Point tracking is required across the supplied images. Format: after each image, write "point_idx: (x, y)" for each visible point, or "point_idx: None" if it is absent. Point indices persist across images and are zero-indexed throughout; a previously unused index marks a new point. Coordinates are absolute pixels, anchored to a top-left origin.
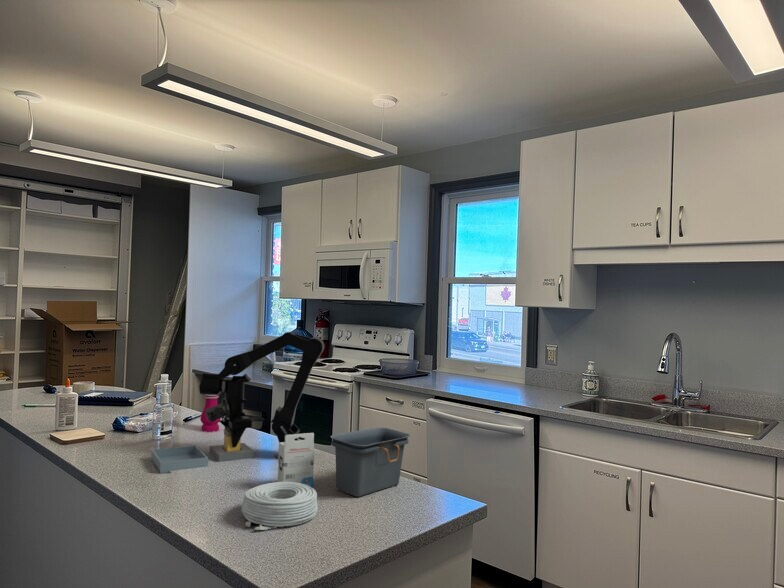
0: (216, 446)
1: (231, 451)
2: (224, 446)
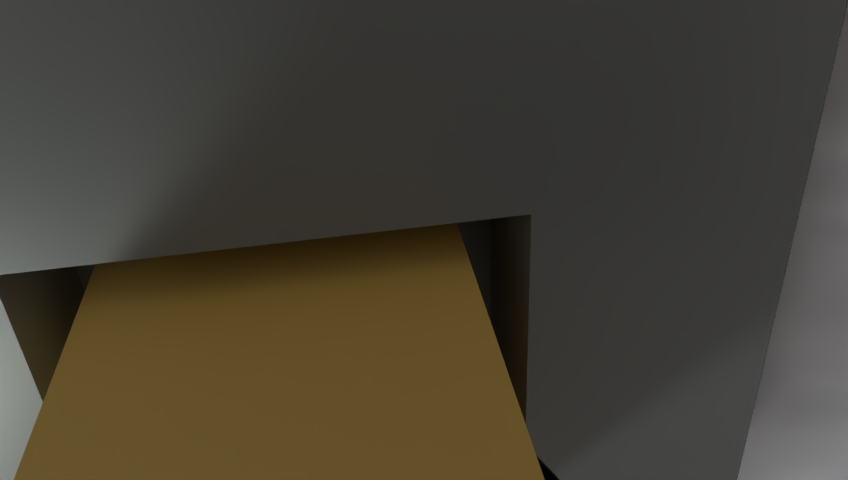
0: (716, 103)
1: (6, 404)
2: (405, 315)
